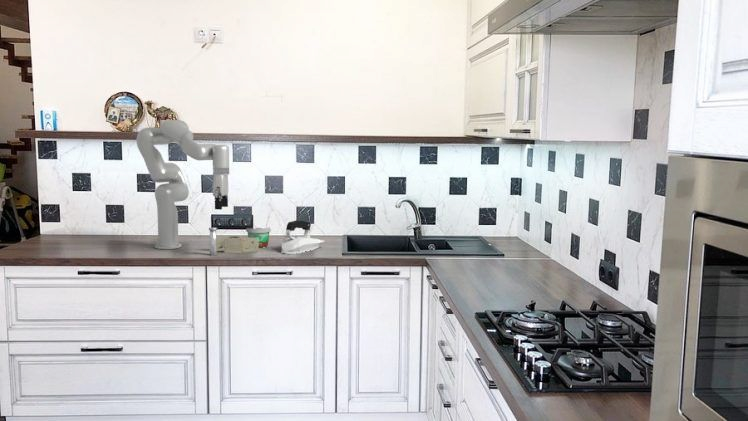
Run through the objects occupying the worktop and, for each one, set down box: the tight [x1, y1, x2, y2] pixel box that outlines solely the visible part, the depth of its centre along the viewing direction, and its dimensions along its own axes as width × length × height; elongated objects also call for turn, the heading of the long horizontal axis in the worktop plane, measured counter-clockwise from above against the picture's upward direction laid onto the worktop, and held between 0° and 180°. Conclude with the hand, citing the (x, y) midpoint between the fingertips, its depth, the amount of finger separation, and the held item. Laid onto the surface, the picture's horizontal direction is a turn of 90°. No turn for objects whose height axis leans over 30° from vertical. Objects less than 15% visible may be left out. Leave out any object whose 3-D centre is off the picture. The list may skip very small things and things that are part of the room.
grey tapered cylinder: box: [208, 227, 218, 257], centre depth 304 cm, size 4×4×13 cm
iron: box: [280, 220, 325, 255], centre depth 319 cm, size 11×24×15 cm, turn 146°
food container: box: [245, 226, 272, 249], centre depth 324 cm, size 12×6×10 cm, turn 105°
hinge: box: [216, 235, 260, 254], centre depth 313 cm, size 24×8×7 cm, turn 85°
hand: (221, 208), depth 304 cm, fingers open, 9 cm apart
